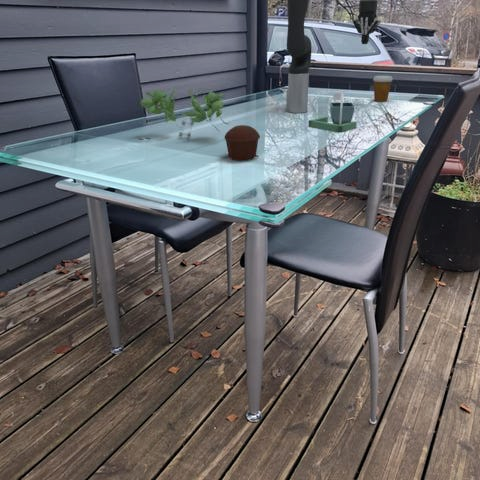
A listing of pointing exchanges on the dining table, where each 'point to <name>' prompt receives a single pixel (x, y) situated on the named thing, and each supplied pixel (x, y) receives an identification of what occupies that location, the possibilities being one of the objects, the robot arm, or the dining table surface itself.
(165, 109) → the plant cuttings
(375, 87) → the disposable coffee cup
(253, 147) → the muffin
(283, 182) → the dining table surface
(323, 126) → the green u-shaped frame
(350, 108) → the flower pot
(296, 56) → the robot arm
